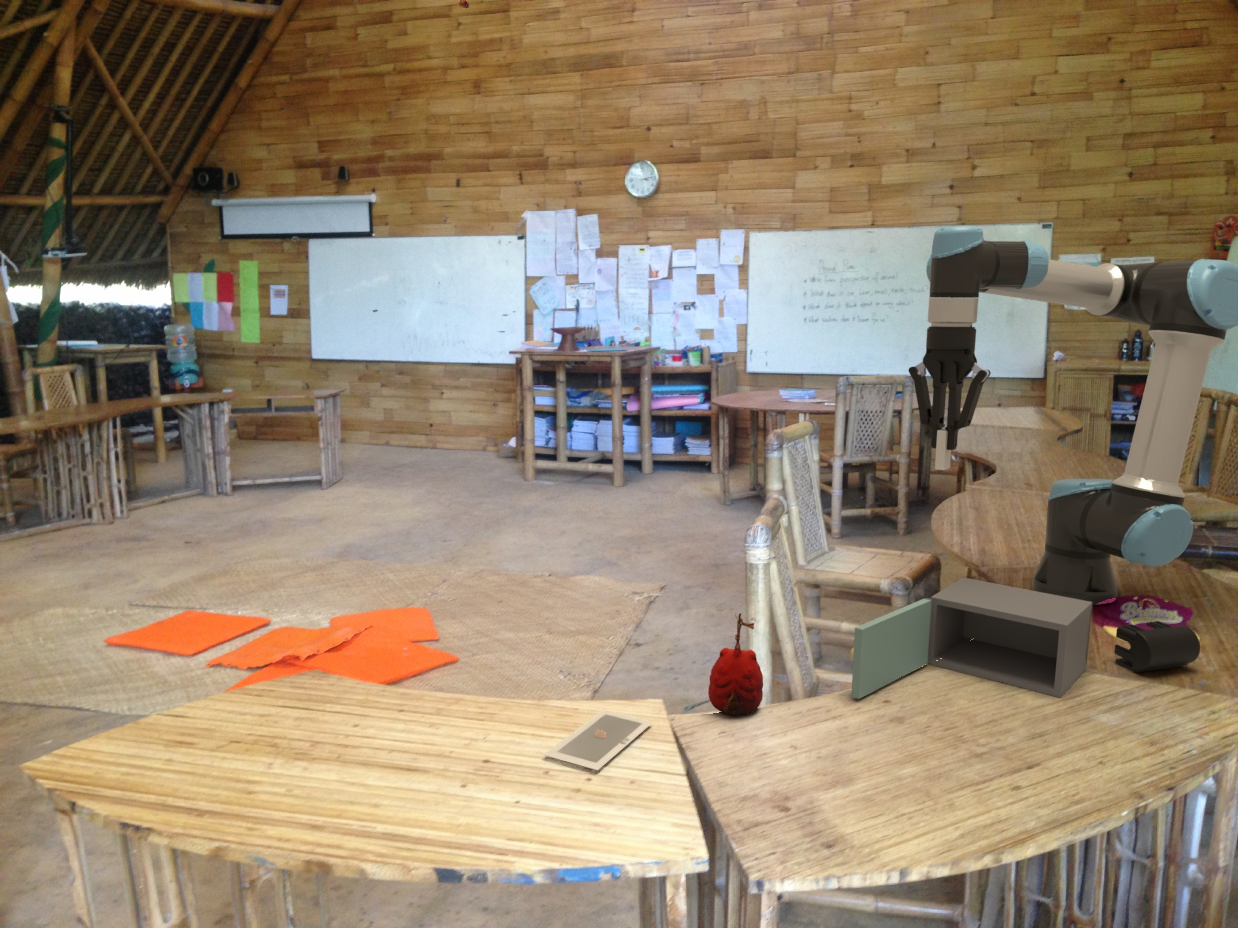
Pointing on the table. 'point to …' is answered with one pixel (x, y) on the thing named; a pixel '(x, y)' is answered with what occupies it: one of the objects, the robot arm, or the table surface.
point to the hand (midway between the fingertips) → (942, 468)
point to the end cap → (1156, 647)
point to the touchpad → (598, 739)
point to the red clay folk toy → (736, 679)
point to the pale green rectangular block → (890, 647)
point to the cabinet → (1010, 635)
